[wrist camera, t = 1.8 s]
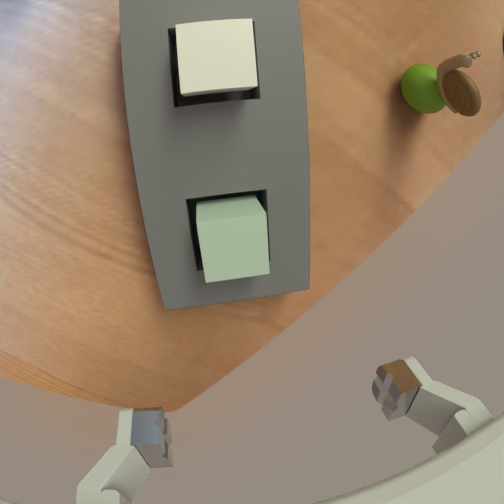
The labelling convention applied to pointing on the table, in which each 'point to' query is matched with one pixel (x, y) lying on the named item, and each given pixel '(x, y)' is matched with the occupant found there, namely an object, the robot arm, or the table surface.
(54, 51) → the table surface
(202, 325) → the table surface
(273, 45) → the key console
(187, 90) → the white key
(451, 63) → the snail figurine
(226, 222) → the pale green cube
